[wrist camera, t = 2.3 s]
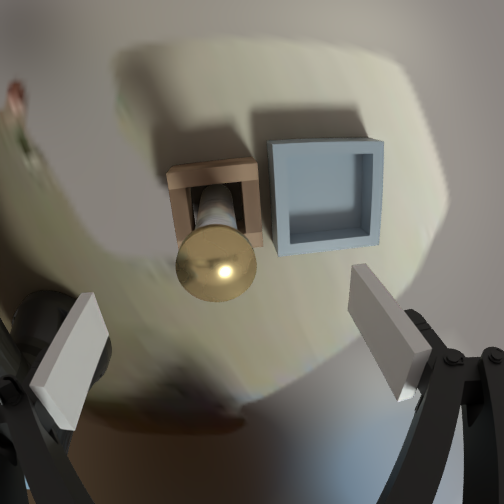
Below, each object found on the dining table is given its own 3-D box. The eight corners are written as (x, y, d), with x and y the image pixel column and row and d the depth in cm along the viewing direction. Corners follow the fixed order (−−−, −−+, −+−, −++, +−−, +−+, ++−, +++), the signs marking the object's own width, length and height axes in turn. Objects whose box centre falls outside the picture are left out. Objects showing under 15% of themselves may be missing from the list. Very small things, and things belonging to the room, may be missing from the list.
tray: (272, 242, 35) (278, 256, 32) (266, 140, 31) (272, 144, 27) (365, 232, 36) (378, 244, 33) (368, 137, 31) (383, 141, 28)
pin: (196, 223, 33) (183, 305, 20) (190, 179, 31) (169, 235, 18) (241, 218, 34) (259, 297, 20) (237, 173, 32) (253, 225, 18)
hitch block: (183, 239, 34) (179, 255, 30) (172, 165, 31) (166, 173, 27) (258, 231, 35) (263, 246, 31) (252, 156, 31) (257, 163, 27)
